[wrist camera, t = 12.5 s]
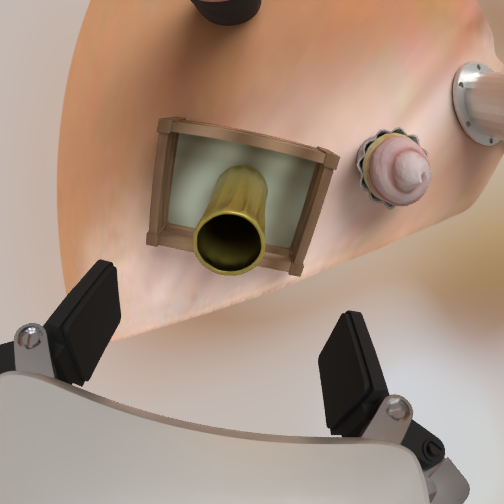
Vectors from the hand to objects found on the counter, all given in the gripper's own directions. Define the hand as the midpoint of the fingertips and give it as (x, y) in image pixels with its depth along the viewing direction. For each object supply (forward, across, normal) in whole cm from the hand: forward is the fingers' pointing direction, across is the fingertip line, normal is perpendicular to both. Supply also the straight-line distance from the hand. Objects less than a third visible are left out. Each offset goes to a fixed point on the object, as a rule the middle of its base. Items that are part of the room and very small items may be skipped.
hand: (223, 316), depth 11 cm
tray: (+24, +1, +2) cm, 25 cm away
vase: (+24, +1, +2) cm, 24 cm away
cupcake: (+25, -15, -6) cm, 30 cm away
